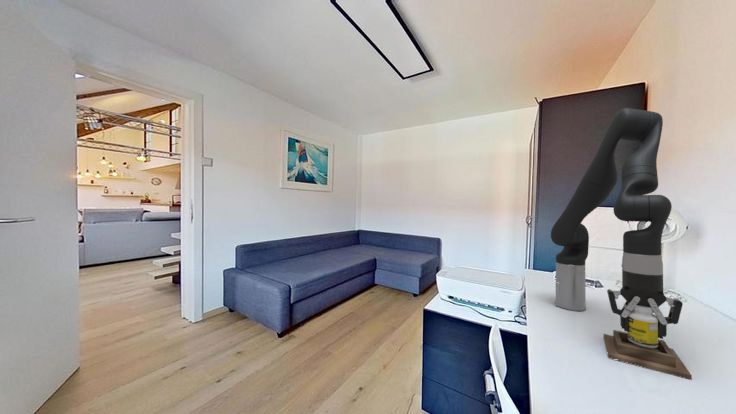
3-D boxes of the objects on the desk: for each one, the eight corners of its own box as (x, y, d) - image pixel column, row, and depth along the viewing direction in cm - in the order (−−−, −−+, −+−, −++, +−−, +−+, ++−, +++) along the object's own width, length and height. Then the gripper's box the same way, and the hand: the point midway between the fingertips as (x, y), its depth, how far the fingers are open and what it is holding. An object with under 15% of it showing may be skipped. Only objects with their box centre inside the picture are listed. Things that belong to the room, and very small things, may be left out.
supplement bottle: (621, 338, 72) (621, 301, 72) (640, 337, 73) (639, 300, 73) (645, 349, 66) (644, 309, 66) (665, 348, 67) (664, 308, 67)
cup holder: (608, 358, 68) (608, 344, 68) (603, 337, 79) (603, 325, 79) (691, 379, 60) (691, 364, 60) (673, 352, 71) (672, 339, 71)
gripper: (606, 269, 71) (607, 331, 71) (688, 277, 62) (689, 348, 62) (603, 264, 77) (604, 321, 77) (678, 271, 68) (678, 336, 68)
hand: (642, 333), depth 69 cm, fingers closed on supplement bottle, 5 cm apart
